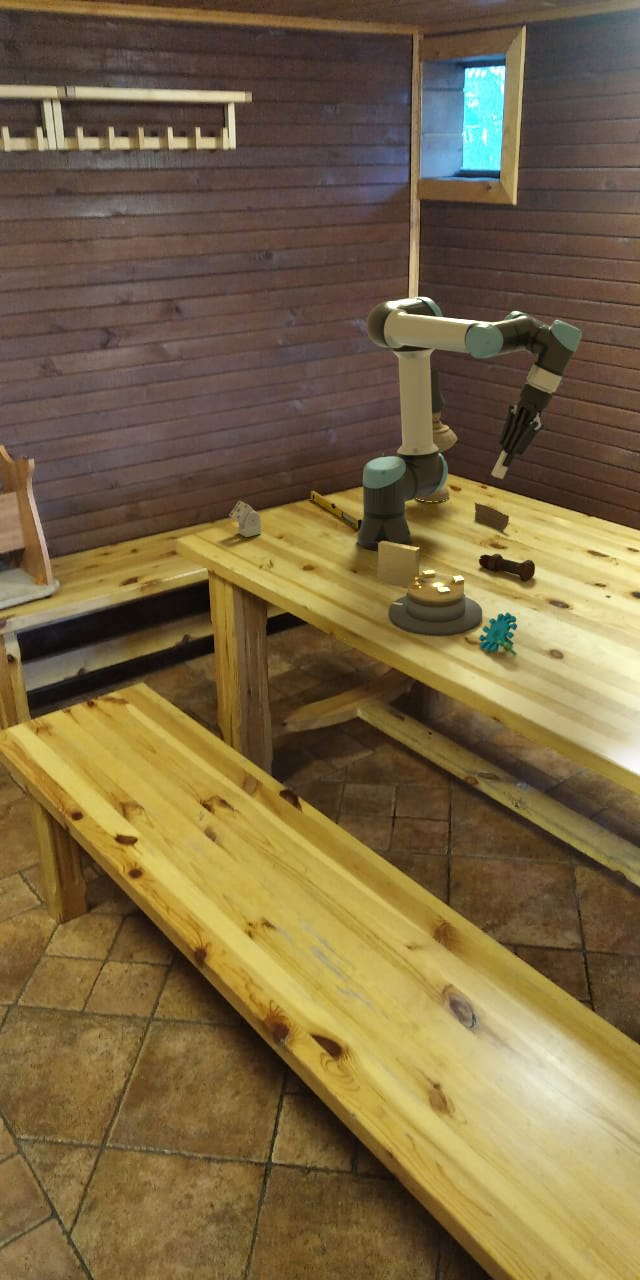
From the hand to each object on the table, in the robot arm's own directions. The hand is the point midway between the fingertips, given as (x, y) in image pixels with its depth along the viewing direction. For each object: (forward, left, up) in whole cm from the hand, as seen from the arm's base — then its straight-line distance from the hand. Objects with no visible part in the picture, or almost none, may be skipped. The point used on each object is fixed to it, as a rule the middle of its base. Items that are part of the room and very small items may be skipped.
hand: (496, 476), depth 244 cm
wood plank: (-28, +27, -26) cm, 47 cm away
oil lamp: (-59, +32, -26) cm, 72 cm away
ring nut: (+6, -31, -21) cm, 37 cm away
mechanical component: (-68, -33, -26) cm, 80 cm away
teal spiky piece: (+32, -30, -26) cm, 51 cm away
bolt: (+2, +3, -27) cm, 27 cm away
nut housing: (+10, -29, -26) cm, 40 cm away
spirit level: (-67, -1, -27) cm, 72 cm away
